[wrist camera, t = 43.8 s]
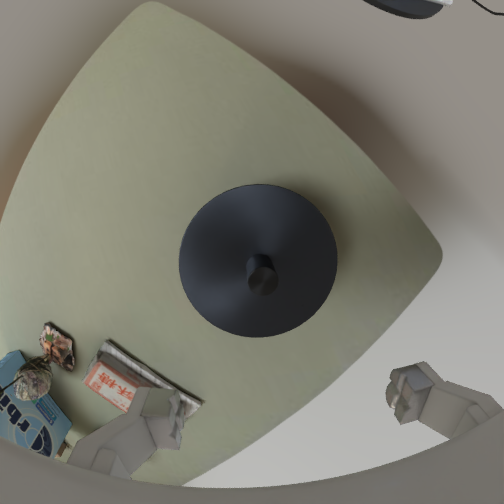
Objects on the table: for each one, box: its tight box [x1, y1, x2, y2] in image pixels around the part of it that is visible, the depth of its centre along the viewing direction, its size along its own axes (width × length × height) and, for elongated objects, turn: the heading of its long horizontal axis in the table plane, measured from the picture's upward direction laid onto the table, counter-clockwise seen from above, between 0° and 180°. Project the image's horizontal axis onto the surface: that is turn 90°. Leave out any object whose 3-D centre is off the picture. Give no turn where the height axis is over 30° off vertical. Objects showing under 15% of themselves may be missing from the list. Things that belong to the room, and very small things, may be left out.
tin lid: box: [179, 184, 337, 337], centre depth 25 cm, size 15×15×5 cm
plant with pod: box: [0, 323, 75, 401], centre depth 29 cm, size 8×11×20 cm
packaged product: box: [82, 340, 201, 421], centre depth 38 cm, size 18×5×10 cm
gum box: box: [0, 350, 72, 459], centre depth 30 cm, size 20×5×23 cm, turn 20°
